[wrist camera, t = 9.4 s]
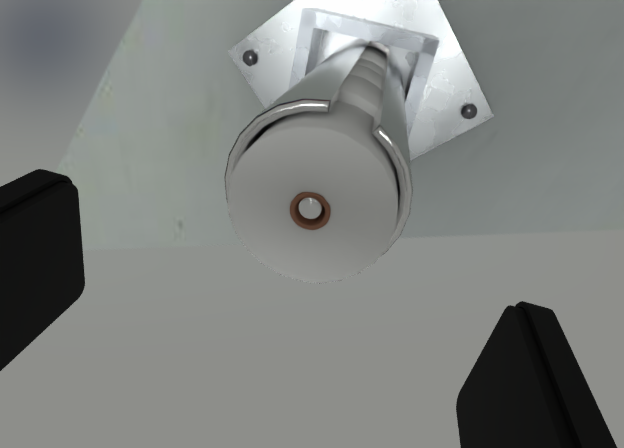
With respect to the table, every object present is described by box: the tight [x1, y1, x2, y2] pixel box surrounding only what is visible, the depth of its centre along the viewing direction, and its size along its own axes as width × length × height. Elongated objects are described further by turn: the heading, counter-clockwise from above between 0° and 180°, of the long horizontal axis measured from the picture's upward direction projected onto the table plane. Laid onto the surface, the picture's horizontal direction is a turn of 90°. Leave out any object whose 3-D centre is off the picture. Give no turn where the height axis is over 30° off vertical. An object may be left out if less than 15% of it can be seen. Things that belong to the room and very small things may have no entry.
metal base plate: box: [227, 0, 494, 161], centre depth 34 cm, size 16×16×6 cm
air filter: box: [225, 40, 413, 284], centre depth 25 cm, size 6×6×25 cm
